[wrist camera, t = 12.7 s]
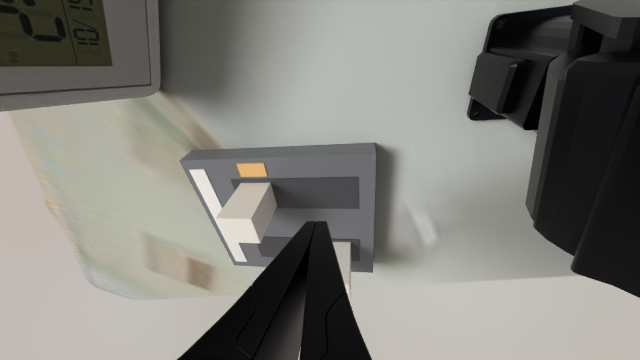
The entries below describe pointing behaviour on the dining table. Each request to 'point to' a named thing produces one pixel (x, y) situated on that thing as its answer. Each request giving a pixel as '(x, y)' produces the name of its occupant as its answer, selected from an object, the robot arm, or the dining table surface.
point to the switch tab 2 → (344, 262)
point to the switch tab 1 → (247, 213)
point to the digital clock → (77, 51)
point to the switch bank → (294, 194)
